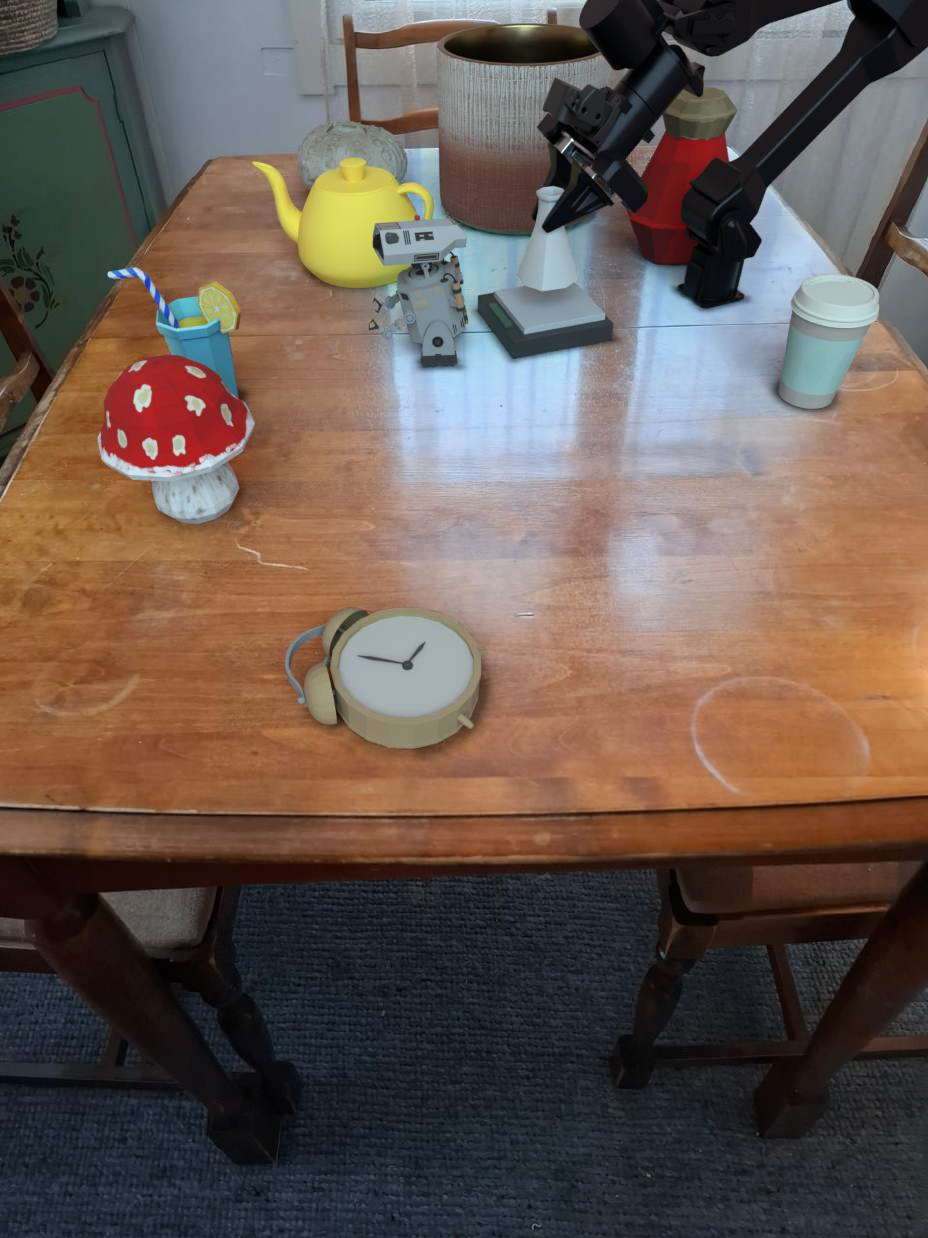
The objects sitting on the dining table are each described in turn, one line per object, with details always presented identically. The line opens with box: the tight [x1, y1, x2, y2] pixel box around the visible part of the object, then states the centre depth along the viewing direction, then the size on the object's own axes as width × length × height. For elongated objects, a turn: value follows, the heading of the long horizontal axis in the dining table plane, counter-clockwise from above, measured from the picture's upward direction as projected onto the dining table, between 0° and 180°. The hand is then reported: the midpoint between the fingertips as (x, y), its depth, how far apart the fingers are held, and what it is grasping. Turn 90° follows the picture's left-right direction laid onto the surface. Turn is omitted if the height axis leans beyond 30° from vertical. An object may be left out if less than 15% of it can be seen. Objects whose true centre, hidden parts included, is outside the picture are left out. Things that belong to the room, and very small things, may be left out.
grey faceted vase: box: [515, 186, 580, 291], centre depth 93 cm, size 7×7×10 cm
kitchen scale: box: [477, 282, 614, 360], centre depth 100 cm, size 13×13×3 cm
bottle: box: [625, 86, 739, 267], centre depth 108 cm, size 16×14×20 cm
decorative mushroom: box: [97, 354, 256, 525], centre depth 72 cm, size 14×14×15 cm
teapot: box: [251, 157, 435, 289], centre depth 109 cm, size 25×18×14 cm
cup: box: [107, 266, 242, 399], centre depth 85 cm, size 14×8×15 cm, turn 80°
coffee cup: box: [778, 273, 880, 410], centre depth 85 cm, size 8×8×12 cm
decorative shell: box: [296, 119, 409, 192], centre depth 130 cm, size 18×18×10 cm
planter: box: [435, 22, 613, 236], centre depth 120 cm, size 25×25×22 cm
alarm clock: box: [284, 606, 489, 750], centre depth 61 cm, size 11×5×15 cm
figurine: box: [368, 214, 469, 368], centre depth 92 cm, size 9×12×15 cm
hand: (538, 224), depth 92 cm, fingers closed on grey faceted vase, 3 cm apart
